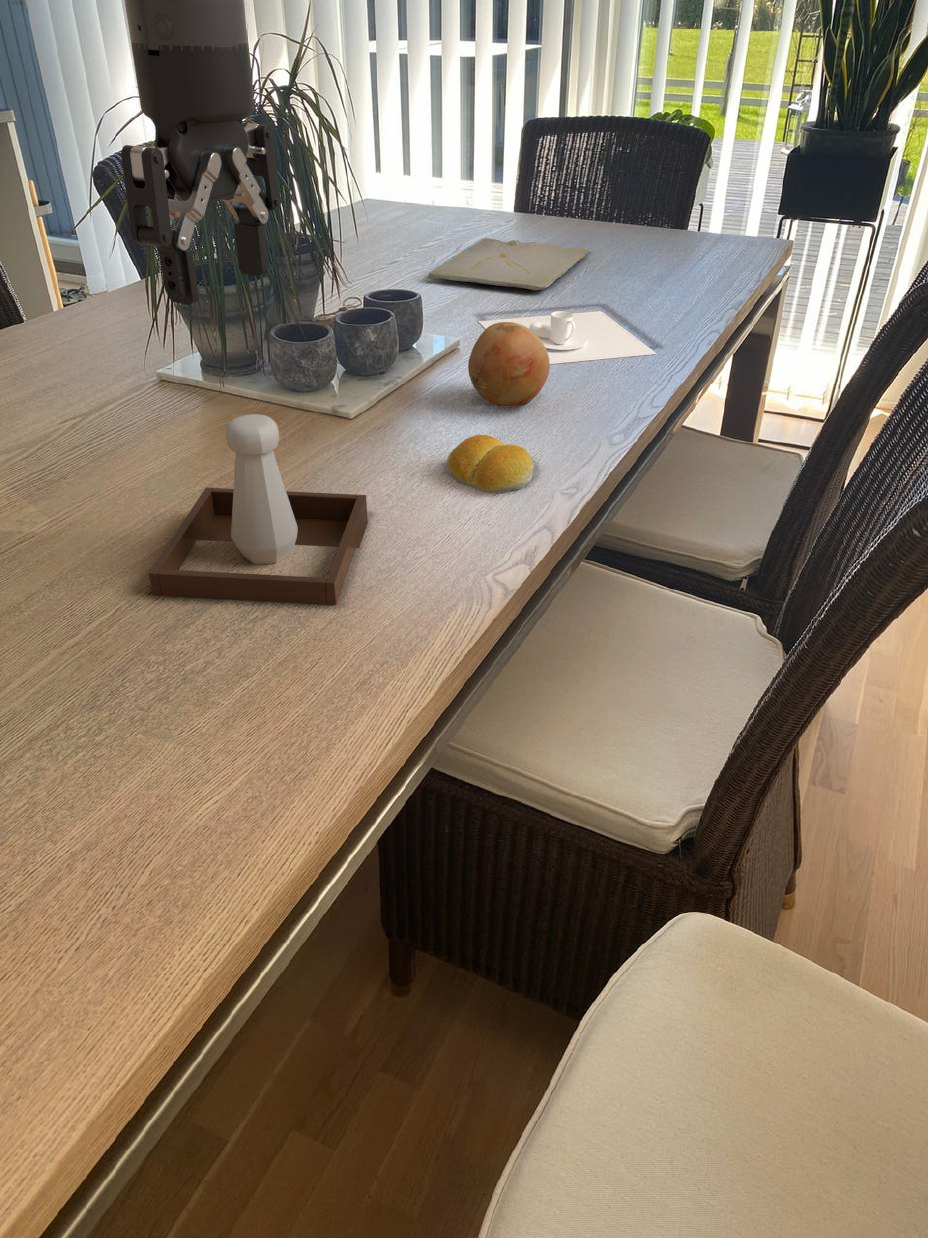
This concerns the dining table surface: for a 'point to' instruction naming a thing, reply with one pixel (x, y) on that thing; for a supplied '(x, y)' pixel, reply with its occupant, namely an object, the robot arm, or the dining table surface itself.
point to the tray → (211, 520)
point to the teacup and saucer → (580, 336)
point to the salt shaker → (259, 492)
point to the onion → (508, 364)
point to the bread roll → (490, 464)
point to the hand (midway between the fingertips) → (220, 287)
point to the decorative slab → (510, 264)
